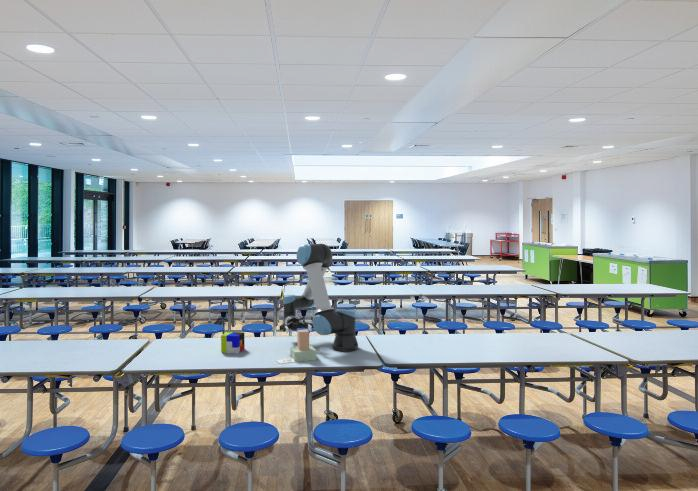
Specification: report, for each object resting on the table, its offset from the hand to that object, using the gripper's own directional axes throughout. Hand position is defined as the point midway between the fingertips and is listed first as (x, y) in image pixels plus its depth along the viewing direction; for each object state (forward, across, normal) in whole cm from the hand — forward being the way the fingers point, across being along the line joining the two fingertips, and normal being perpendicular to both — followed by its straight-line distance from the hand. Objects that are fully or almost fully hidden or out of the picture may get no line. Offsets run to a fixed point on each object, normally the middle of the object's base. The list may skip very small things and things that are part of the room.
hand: (299, 329), depth 293 cm
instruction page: (+14, +10, -14) cm, 22 cm away
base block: (+10, 0, -14) cm, 17 cm away
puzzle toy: (-17, +36, -14) cm, 42 cm away
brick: (+10, 0, -9) cm, 13 cm away
